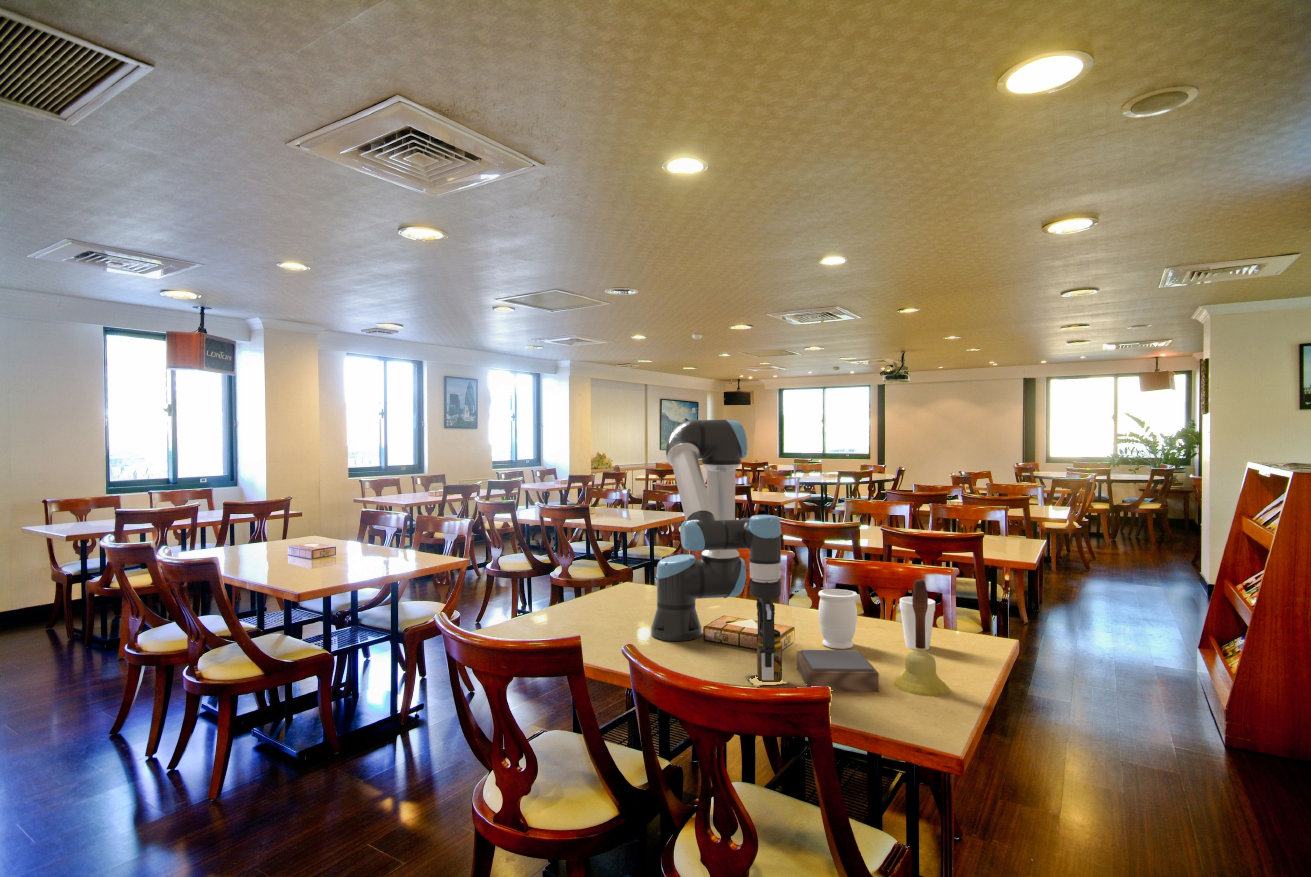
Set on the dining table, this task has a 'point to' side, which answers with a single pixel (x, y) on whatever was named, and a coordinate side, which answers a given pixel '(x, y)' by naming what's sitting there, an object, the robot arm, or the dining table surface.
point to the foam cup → (909, 621)
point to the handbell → (920, 654)
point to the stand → (837, 670)
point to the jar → (837, 617)
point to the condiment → (776, 659)
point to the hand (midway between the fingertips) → (766, 674)
